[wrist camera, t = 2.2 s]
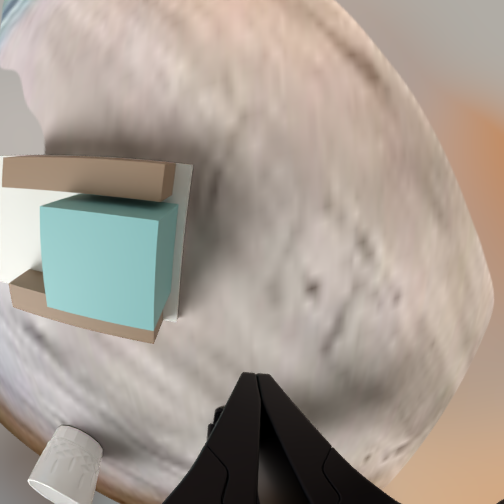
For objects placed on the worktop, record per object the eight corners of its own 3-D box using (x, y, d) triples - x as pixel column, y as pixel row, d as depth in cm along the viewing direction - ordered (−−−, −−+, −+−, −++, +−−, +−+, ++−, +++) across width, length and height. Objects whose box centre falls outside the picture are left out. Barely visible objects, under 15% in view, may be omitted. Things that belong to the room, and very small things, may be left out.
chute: (193, 165, 18) (183, 166, 14) (177, 318, 21) (168, 346, 17) (-29, 157, 15) (-55, 161, 12) (-24, 270, 19) (-45, 283, 15)
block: (178, 204, 18) (158, 220, 13) (170, 291, 19) (153, 331, 15) (81, 193, 17) (39, 206, 12) (81, 275, 19) (47, 306, 14)
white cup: (65, 414, 24) (36, 477, 15) (118, 450, 27) (100, 514, 17) (47, 430, 26) (22, 482, 16) (92, 461, 28) (76, 515, 18)
